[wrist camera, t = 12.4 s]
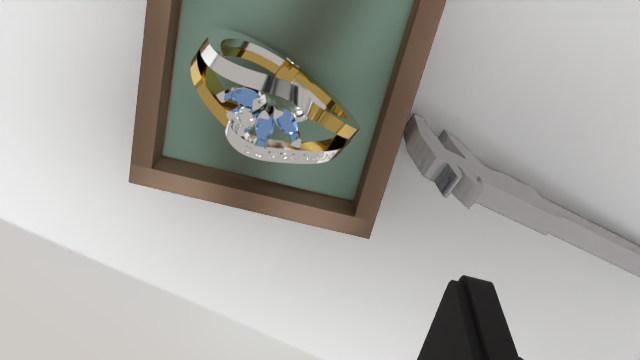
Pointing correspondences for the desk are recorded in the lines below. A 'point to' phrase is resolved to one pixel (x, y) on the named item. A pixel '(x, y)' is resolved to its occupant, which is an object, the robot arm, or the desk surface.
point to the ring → (268, 101)
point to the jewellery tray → (316, 60)
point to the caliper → (509, 195)
